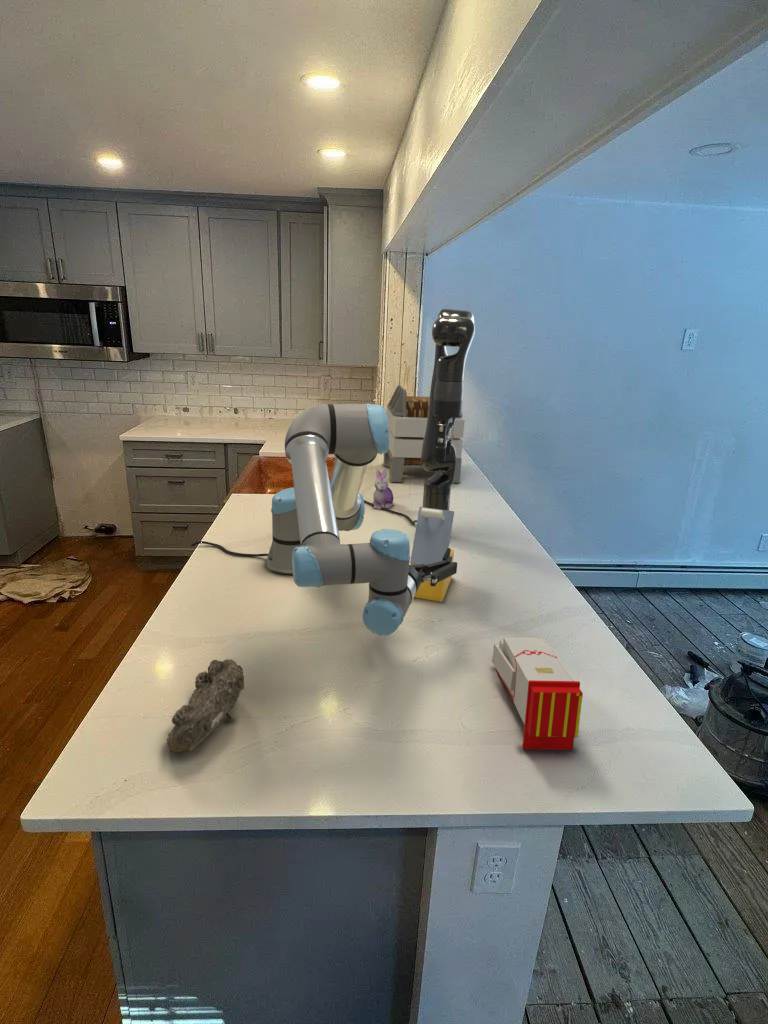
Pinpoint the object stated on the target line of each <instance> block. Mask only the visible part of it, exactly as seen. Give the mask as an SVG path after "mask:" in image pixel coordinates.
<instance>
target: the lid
mask: <svg viewBox="0 0 768 1024" xmlns="http://www.w3.org/2000/svg"><path fill="white" fill-rule="evenodd" d="M454 518H455V511H454V510H449V511H448V510H441V509H433V508H426V507H422V506H419V509H418V514H417V519H416V520H417V522H416V526H415V530H414V532H415V533H414V537H413V543H412V550H411V553H410V560H409V564H410V565H411V564H416V565H420V564H425V565H428V564H432V563H436V562H440V561H442V560H443V556H444V554H445V552H446V550H447V548H450V542H451V536H452V530H453V525H454V524H453V523H454Z"/></svg>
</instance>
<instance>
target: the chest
mask: <svg viewBox="0 0 768 1024" xmlns="http://www.w3.org/2000/svg"><path fill="white" fill-rule="evenodd" d="M450 556H451V557H452V562H454V556H455V549H451V550H450ZM410 565H416V564H411V563H410ZM421 570H422V569H421ZM452 576H453V575H452ZM452 576H450V577H448V578H446V579H444V580H442V581H440V582H438V583H437V585H436V586H431V585H430V582H426V581H424V582H423V583H421V584H420V586H419V589H418V590H417V592H416V594H415V596H414V598H417V599H423V600H429V601H433V602H441V603H443V601H444V599H445V596H446V594H447V591H448V588H449V587H450V584H451V581H452V579H453V577H452Z"/></svg>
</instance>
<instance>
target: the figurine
mask: <svg viewBox="0 0 768 1024" xmlns="http://www.w3.org/2000/svg"><path fill="white" fill-rule="evenodd" d="M375 474H376V476H375V477H376V479H375V481H374V483H373V484H374V488H375V490H374V492H373V502H372V504H374V506H373V508H374V509H378V510H382V509H381V507H383V508H386V509H389V508H392V507H393V504H394V494H393V493H394V492H393V490H392V489H391V488H390V487H389V481H388V479H387V475H388V468H384V470H383V471H382V472H381V471H380V469H376V472H375Z"/></svg>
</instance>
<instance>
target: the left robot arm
mask: <svg viewBox="0 0 768 1024" xmlns="http://www.w3.org/2000/svg"><path fill="white" fill-rule="evenodd" d="M386 412H387V410H386V409H385V407H384V406H383V405H381V404H375V403H373V404H372V403H368V402H367V403H318V404H313V405H311V406H309V407H307V408H306V409H304V410H302V411H301V412H300V413H299V414H298V415H297V416H296V417H295V418H294V419H293V420H292V422H291V423H290V426H288V429H287V431H286V434H285V438H284V454H285V458H286V460H287V461H288V463H290V464H291V465H290V466H291V473H292V481H293V482H292V483H293V487H288V488H285V489H282V490H280V491H277V492H276V493H275V494H274V495H273V496H272V499H271V508H270V512H271V526H272V527H271V529H272V532H271V533H272V536H271V537H272V542H271V545H270V547H269V551H268V553H241V552H234V551H231V550H228V549H226V548H225V547H224V546H222V545H220V544H218V543H213V542H209V541H205V540H199V541H194V542H193V543H192V544H191V545H190V547H195V546H196V545H199V544H202V545H203V544H204V545H208V546H213V547H217V548H219V549H221V550H222V551H223V552H225V553H226V554H229V555H234V556H241V557H251V558H252V557H253V558H257V557H267V558H266V566H267V568H268V569H269V570H271V571H272V572H273V573H276V574H280V575H281V574H282V575H292V577H293V579H292V580H293V583H294V585H296V586H297V587H299V588H300V587H301V588H321V587H329V586H339V585H356V584H357V585H358V584H368V600H367V602H366V603H365V605H364V608H363V611H362V615H361V616H362V617H361V618H362V623H363V625H364V626H365V627H366V629H367V630H368V631H370V632H371V633H372V634H374V635H377V636H382V637H387V636H389V635H392V634H394V633H395V632H396V631H397V630H398V629H399V627H400V625H402V624H403V622H404V618H405V616H406V614H407V612H408V610H409V608H410V606H411V604H412V602H413V600H414V598H415V597H414V596H415V594H416V592H417V590H418V589H419V586H420V584H421V583H423V582H424V581H426V582H430V585H431V586H436V585H437V583H438V582H440V581H442V580H444V579H446V578H448V577H450V576H454V575H456V574H457V571H458V562H457V561H453V562H452V557H451V556H450V550H451V547H449V548H447V550H446V552H445V554H444V556H443V560H442V561H440V562H436V563H432V564H428V565H425V564H420V565H411V564H410V560H411V546H410V538H409V536H408V535H407V534H406V533H405V532H404V531H401V530H398V529H393V528H382V529H380V530H376V531H373V533H372V534H371V536H370V539H369V542H365V543H364V542H363V543H362V542H361V543H347V544H345V543H342V544H341V542H340V541H341V538H340V533H339V532H350V531H356V530H358V529H359V528H361V526H362V525H363V523H364V519H365V518H364V517H365V516H364V515H365V509H366V507H365V502H364V500H365V499H364V496H363V494H362V493H360V490H361V487H362V485H363V484H362V483H363V480H364V478H365V474H366V471H367V468H368V465H370V464H371V463H373V461H374V460H376V458H377V455H378V454H379V455H383V454H384V453H387V452H388V449H389V427H388V419H387V414H386ZM329 455H334V461H333V465H332V469H331V473H330V476H329V470H328V465H327V464H328V463H327V458H328V456H329ZM201 542H202V543H201ZM421 569H422V570H421Z"/></svg>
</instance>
